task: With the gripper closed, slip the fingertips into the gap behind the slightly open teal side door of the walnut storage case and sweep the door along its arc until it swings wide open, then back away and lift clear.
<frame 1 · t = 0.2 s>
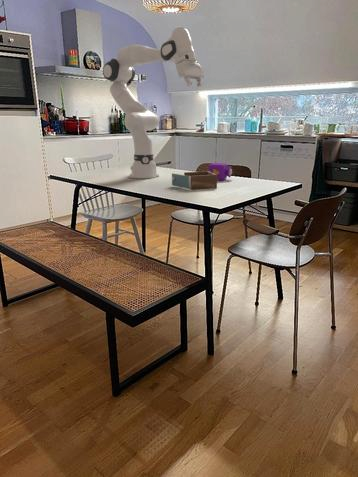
hand: (194, 86, 199), 52 cm above the table, tool tilted 20°, fingers open, 8 cm apart
side door: (180, 181, 198), point 4 cm above the table, hinge at 25.0°
storage case: (200, 186, 203), on the table
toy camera: (220, 179, 225), on the table
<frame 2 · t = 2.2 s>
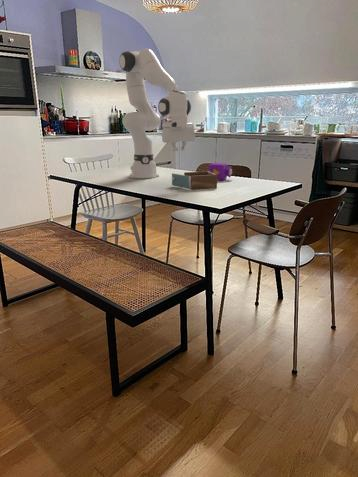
hand: (179, 150, 198), 19 cm above the table, tool pointing down, fingers open, 3 cm apart
nothing on the table moved.
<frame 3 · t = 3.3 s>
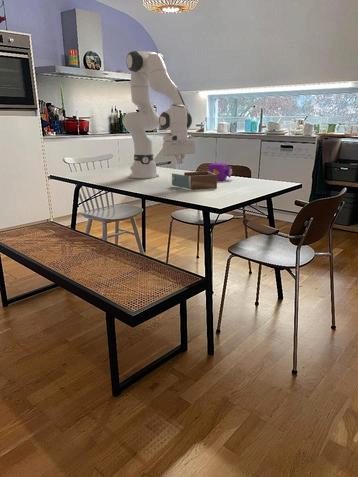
hand: (179, 163, 200), 13 cm above the table, tool pointing down, fingers closed
nothing on the table moved.
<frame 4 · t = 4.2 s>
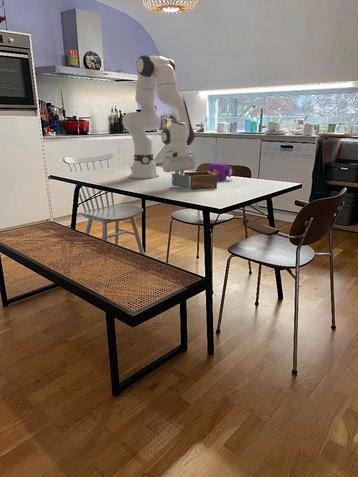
hand: (179, 178, 203), 4 cm above the table, tool pointing down, fingers closed
side door: (180, 181, 198), point 4 cm above the table, hinge at 25.0°, touching gripper
everything else where it was.
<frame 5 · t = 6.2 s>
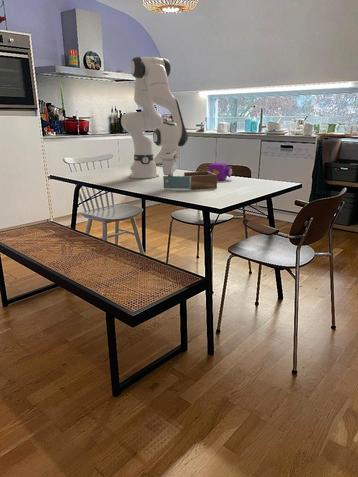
hand: (170, 181, 197), 4 cm above the table, tool pointing down, fingers closed
side door: (177, 182, 194), point 4 cm above the table, hinge at 66.1°, touching gripper
everything else where it was.
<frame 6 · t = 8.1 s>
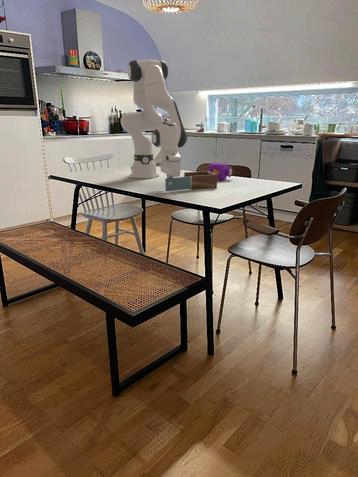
hand: (170, 183, 191), 4 cm above the table, tool pointing down, fingers closed
side door: (179, 183, 190), point 4 cm above the table, hinge at 99.0°, touching gripper
everything else where it was.
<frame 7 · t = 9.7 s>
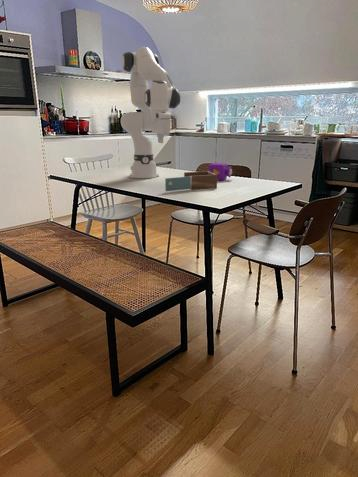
hand: (160, 142, 192), 24 cm above the table, tool pointing down, fingers closed
side door: (179, 183, 190), point 4 cm above the table, hinge at 99.0°
everything else where it was.
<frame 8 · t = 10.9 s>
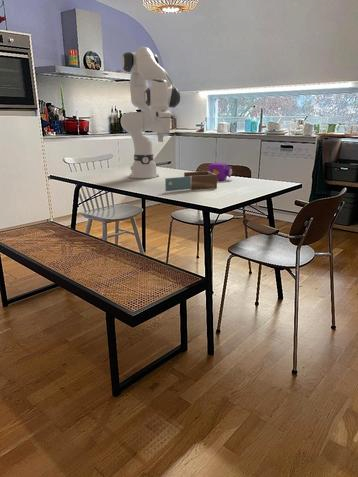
hand: (160, 141, 192), 24 cm above the table, tool pointing down, fingers closed
nothing on the table moved.
at the end: side door at +99° (first picture: +25°); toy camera moved 0.3 cm from its start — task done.
